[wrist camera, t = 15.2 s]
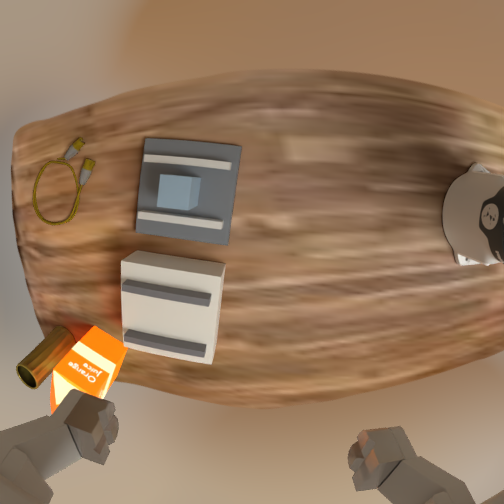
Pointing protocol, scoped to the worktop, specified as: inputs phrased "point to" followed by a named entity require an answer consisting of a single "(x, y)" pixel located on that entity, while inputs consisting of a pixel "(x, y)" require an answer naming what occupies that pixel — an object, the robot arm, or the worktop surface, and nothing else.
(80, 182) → the coiled cable
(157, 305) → the block
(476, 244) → the robot arm
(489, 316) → the worktop surface
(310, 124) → the worktop surface
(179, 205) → the plug
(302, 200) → the worktop surface
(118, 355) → the orange juice
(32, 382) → the vase
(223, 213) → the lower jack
